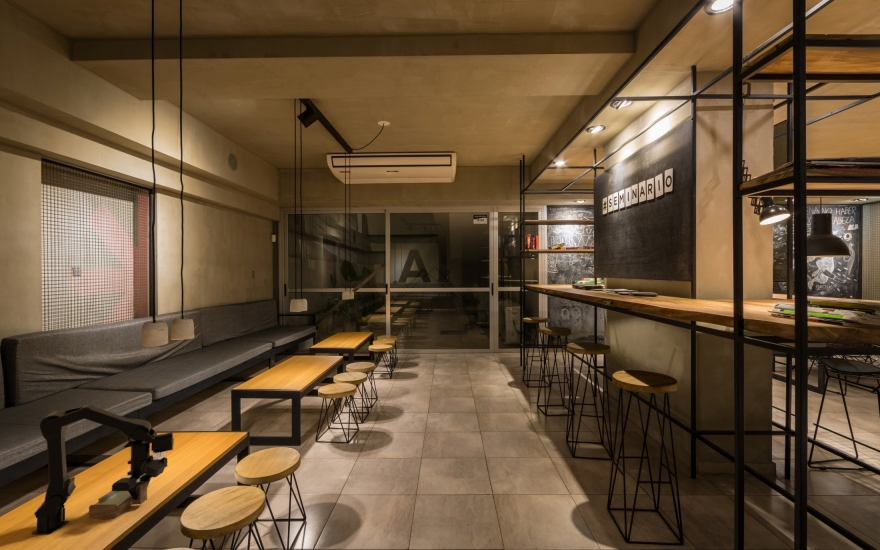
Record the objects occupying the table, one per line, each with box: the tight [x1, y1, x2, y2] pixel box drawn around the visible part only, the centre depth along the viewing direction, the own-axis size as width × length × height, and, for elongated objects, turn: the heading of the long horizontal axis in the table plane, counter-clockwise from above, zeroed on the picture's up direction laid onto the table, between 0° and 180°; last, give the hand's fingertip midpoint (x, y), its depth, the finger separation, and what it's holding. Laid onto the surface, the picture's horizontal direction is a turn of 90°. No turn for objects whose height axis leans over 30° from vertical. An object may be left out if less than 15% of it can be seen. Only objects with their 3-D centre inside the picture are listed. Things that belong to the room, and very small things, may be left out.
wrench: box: [124, 451, 168, 478], centre depth 169 cm, size 8×2×30 cm
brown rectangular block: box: [132, 481, 148, 506], centre depth 141 cm, size 3×3×7 cm
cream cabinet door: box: [93, 490, 131, 506], centre depth 141 cm, size 11×8×2 cm
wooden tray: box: [88, 496, 133, 520], centre depth 141 cm, size 14×9×4 cm, turn 1°
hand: (139, 497), depth 141 cm, fingers closed on brown rectangular block, 3 cm apart
